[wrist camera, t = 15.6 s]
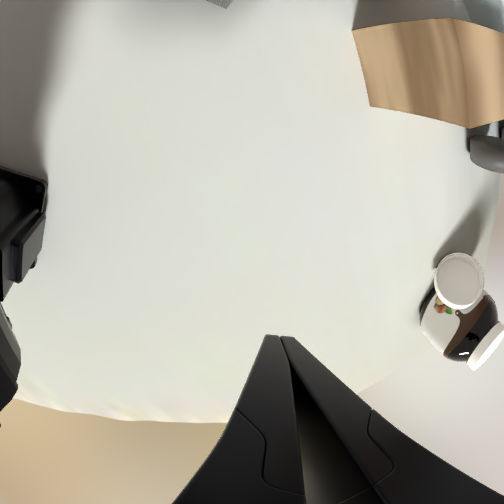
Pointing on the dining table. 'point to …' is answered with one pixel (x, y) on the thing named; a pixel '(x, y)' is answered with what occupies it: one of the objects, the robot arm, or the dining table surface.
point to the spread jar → (461, 312)
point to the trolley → (488, 152)
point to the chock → (435, 69)
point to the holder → (221, 2)
